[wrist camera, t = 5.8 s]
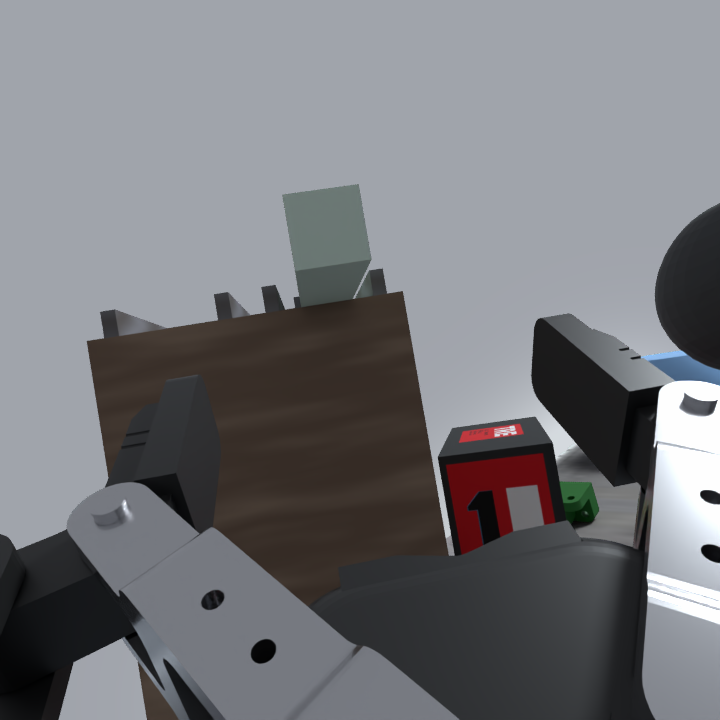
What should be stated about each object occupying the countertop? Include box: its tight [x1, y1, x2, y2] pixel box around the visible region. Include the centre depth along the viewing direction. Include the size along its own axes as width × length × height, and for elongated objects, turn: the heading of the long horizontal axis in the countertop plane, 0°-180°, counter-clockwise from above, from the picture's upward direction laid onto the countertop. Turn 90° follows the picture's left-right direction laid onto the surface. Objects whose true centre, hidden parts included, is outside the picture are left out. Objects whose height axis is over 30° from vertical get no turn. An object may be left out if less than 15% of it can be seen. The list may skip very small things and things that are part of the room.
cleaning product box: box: [438, 417, 566, 556], centre depth 50 cm, size 16×9×20 cm, turn 166°
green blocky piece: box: [560, 482, 599, 524], centre depth 82 cm, size 12×6×9 cm, turn 39°
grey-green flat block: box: [283, 184, 371, 308], centre depth 34 cm, size 26×4×6 cm, turn 5°
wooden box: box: [87, 269, 449, 720], centre depth 37 cm, size 14×18×34 cm
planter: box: [641, 351, 720, 387], centre depth 115 cm, size 25×25×20 cm
